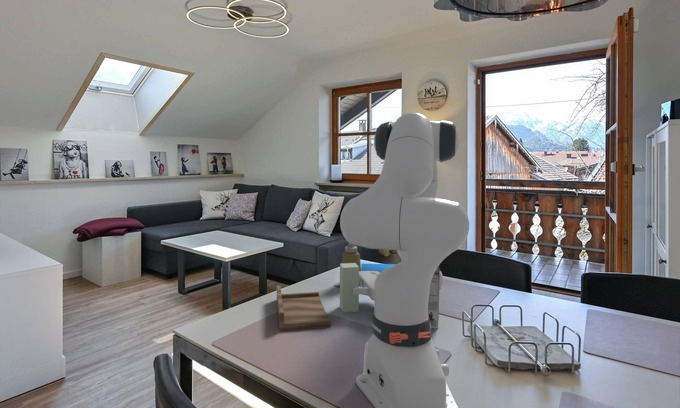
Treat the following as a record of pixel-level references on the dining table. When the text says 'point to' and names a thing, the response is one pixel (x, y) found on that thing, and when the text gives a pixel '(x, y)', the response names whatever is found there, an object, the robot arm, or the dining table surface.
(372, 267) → the book
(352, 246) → the squeeze bottle
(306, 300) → the tray
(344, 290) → the sage block
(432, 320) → the coffee box
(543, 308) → the dining table surface
